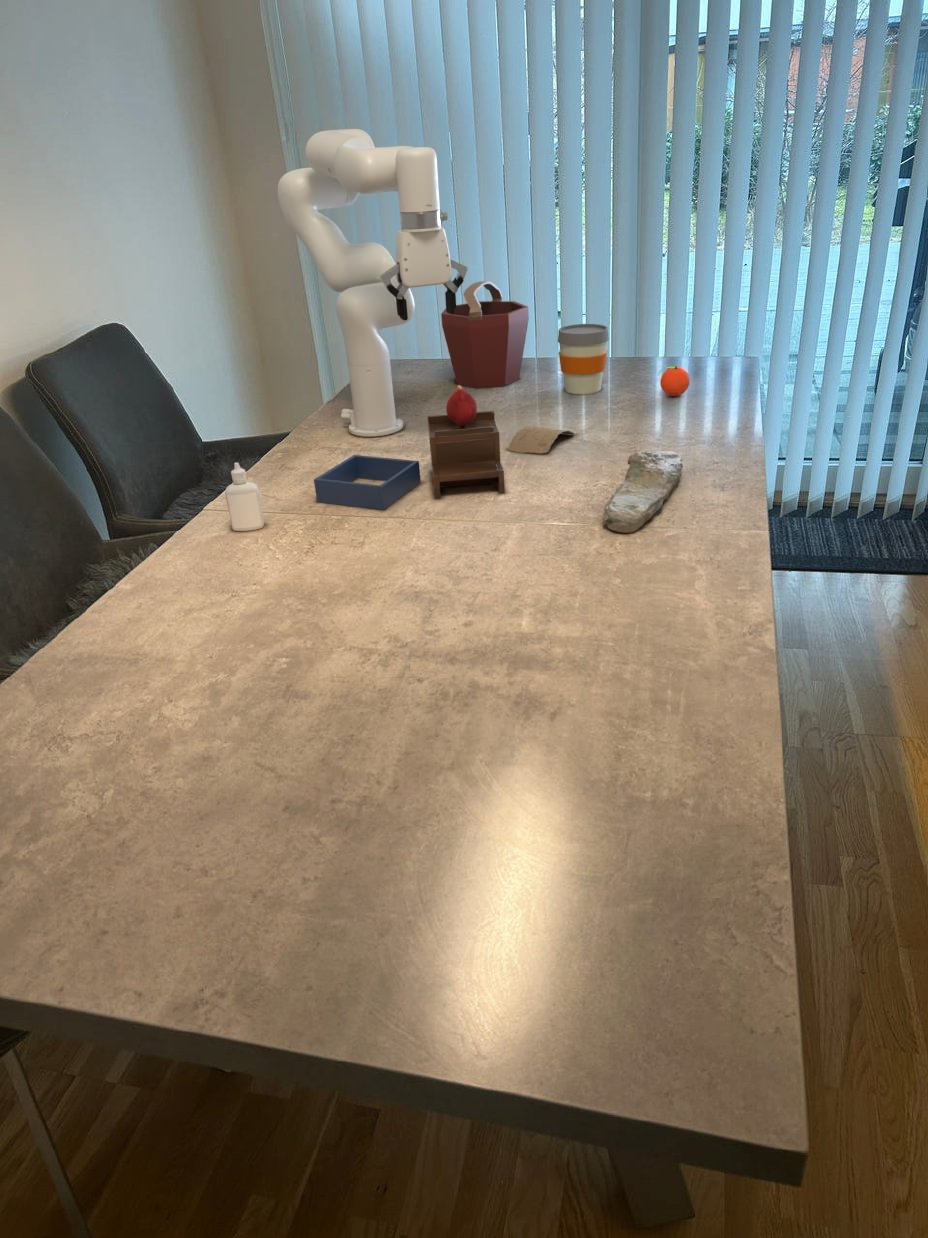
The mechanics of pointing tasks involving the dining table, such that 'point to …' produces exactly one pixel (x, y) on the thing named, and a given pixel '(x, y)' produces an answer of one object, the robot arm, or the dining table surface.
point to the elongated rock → (642, 490)
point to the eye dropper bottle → (243, 502)
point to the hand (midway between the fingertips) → (427, 316)
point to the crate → (343, 491)
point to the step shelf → (465, 452)
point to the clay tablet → (535, 439)
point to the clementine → (674, 381)
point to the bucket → (486, 338)
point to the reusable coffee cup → (583, 356)
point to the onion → (461, 407)
